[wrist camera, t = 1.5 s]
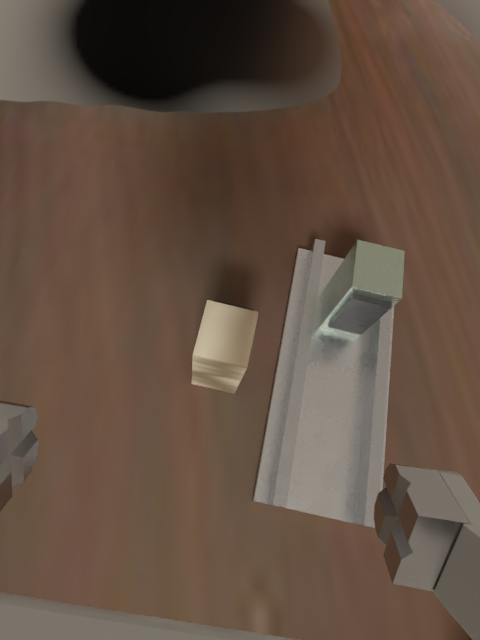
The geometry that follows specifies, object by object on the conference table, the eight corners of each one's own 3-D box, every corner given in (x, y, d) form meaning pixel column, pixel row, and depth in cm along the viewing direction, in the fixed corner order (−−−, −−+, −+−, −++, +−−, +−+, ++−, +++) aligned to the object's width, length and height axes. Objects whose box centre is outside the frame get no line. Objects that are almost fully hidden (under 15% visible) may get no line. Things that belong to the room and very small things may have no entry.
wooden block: (191, 383, 42) (192, 354, 33) (204, 334, 45) (209, 293, 35) (234, 393, 43) (247, 367, 33) (245, 343, 45) (260, 305, 36)
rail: (252, 500, 39) (274, 504, 29) (296, 252, 50) (324, 191, 40) (375, 528, 39) (440, 541, 29) (392, 275, 50) (443, 221, 40)
